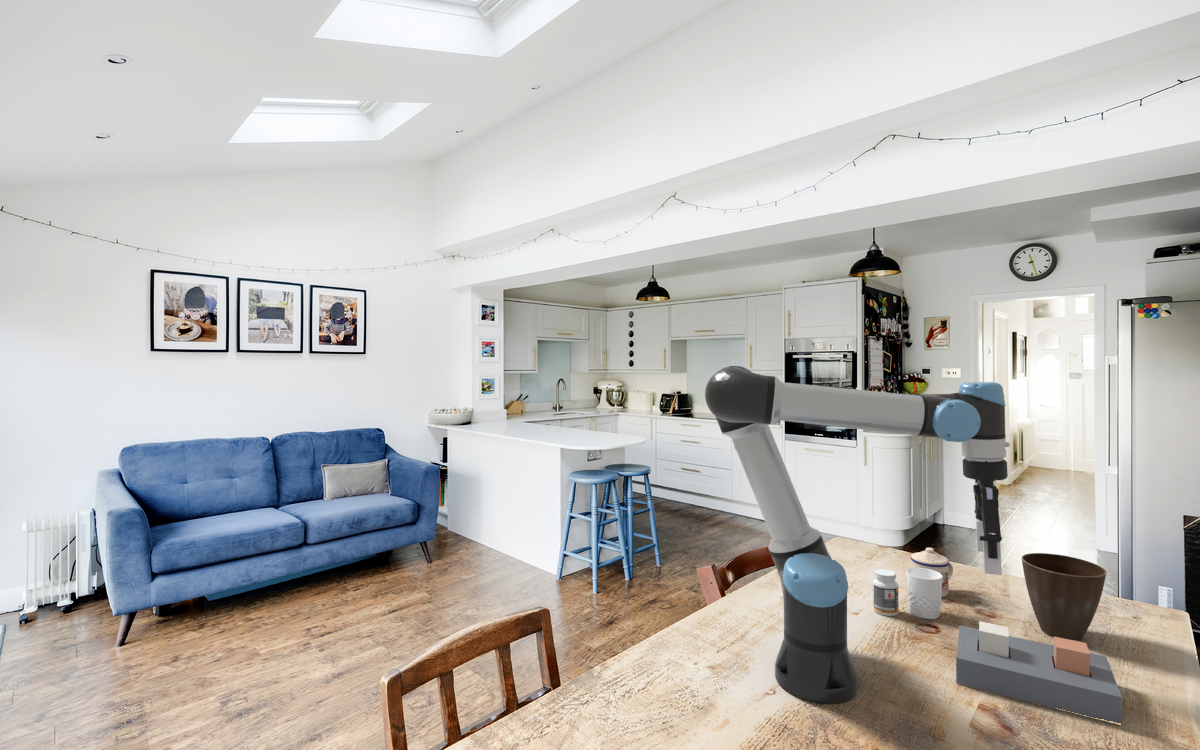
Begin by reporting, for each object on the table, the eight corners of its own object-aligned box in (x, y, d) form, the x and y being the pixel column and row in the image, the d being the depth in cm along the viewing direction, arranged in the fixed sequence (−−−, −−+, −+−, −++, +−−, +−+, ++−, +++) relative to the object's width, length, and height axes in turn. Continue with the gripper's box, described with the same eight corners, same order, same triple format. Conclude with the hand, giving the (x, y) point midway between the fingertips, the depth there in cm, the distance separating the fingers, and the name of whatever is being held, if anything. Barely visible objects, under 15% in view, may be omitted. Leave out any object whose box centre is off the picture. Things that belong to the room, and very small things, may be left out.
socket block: (1121, 726, 97) (1122, 697, 97) (956, 683, 111) (956, 657, 111) (1105, 681, 111) (1106, 656, 110) (959, 647, 124) (959, 625, 124)
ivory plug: (1008, 666, 111) (1008, 636, 111) (978, 659, 113) (978, 630, 113) (1007, 655, 115) (1008, 627, 114) (979, 649, 117) (979, 621, 117)
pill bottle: (903, 616, 139) (903, 576, 139) (879, 616, 139) (879, 576, 139) (891, 606, 145) (891, 568, 145) (868, 606, 145) (868, 568, 145)
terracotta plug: (1089, 685, 104) (1089, 654, 104) (1055, 677, 107) (1056, 647, 106) (1085, 673, 108) (1086, 643, 108) (1053, 665, 111) (1053, 636, 110)
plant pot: (1048, 614, 139) (1049, 549, 139) (1121, 642, 125) (1122, 570, 125) (1006, 624, 134) (1006, 557, 134) (1077, 655, 120) (1078, 580, 120)
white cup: (909, 603, 147) (909, 565, 146) (945, 612, 142) (945, 572, 141) (902, 614, 140) (902, 574, 140) (939, 623, 135) (939, 582, 135)
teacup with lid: (929, 600, 149) (929, 555, 148) (902, 586, 157) (902, 544, 157) (966, 594, 152) (966, 551, 151) (937, 581, 160) (938, 540, 160)
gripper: (1016, 470, 103) (1021, 587, 103) (998, 449, 125) (1002, 545, 125) (967, 469, 107) (972, 581, 107) (958, 448, 128) (962, 541, 129)
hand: (988, 562), depth 116 cm, fingers open, 13 cm apart
